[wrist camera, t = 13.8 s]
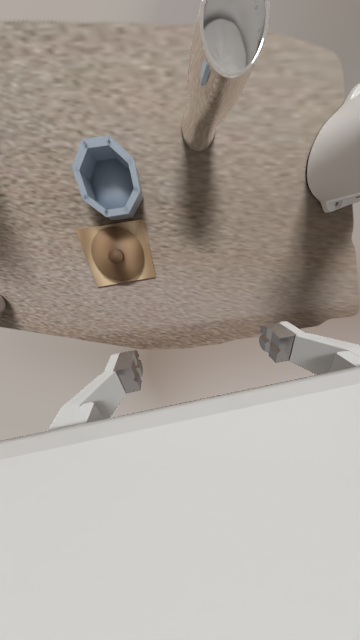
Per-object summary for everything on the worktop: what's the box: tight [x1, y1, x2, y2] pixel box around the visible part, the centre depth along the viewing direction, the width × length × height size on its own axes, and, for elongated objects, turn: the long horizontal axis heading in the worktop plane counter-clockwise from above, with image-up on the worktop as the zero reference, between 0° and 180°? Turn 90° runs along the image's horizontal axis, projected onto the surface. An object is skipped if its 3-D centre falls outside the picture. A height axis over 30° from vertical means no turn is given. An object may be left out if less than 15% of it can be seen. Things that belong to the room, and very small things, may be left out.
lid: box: [91, 226, 144, 281], centre depth 33 cm, size 11×11×4 cm
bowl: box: [72, 136, 143, 220], centre depth 27 cm, size 10×10×5 cm
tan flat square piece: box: [75, 219, 156, 287], centre depth 35 cm, size 14×12×1 cm
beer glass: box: [182, 0, 269, 151], centre depth 21 cm, size 7×7×15 cm
